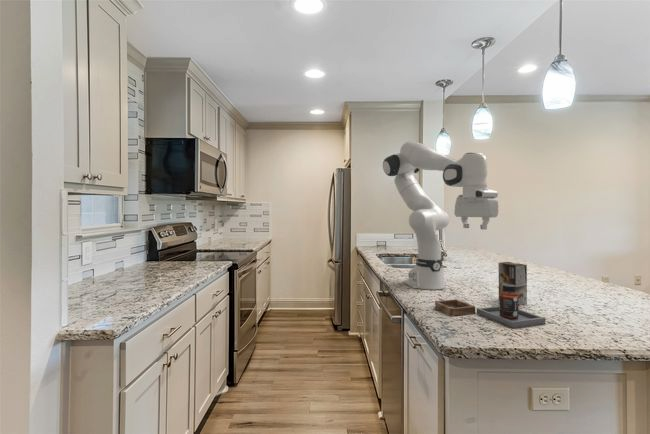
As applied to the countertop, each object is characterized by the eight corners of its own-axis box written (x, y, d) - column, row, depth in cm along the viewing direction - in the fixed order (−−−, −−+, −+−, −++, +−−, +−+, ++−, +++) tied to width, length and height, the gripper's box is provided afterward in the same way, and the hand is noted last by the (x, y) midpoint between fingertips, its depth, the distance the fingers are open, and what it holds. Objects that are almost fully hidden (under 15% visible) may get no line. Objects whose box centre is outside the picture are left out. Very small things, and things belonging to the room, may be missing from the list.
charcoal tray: (476, 313, 123) (476, 308, 123) (506, 310, 127) (506, 305, 127) (512, 328, 108) (512, 322, 108) (545, 323, 112) (545, 318, 112)
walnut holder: (433, 307, 131) (433, 301, 131) (457, 305, 134) (457, 299, 134) (451, 316, 121) (451, 309, 121) (476, 313, 124) (476, 306, 124)
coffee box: (527, 303, 136) (528, 264, 136) (515, 305, 134) (516, 265, 134) (509, 298, 145) (509, 261, 144) (497, 299, 143) (497, 262, 142)
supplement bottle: (521, 320, 114) (521, 287, 114) (502, 319, 116) (502, 286, 115) (515, 314, 120) (515, 283, 120) (497, 313, 121) (497, 282, 121)
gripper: (450, 194, 140) (450, 227, 140) (487, 192, 120) (487, 230, 120) (463, 194, 141) (463, 227, 142) (501, 192, 122) (501, 230, 122)
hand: (474, 228), depth 131 cm, fingers open, 8 cm apart
